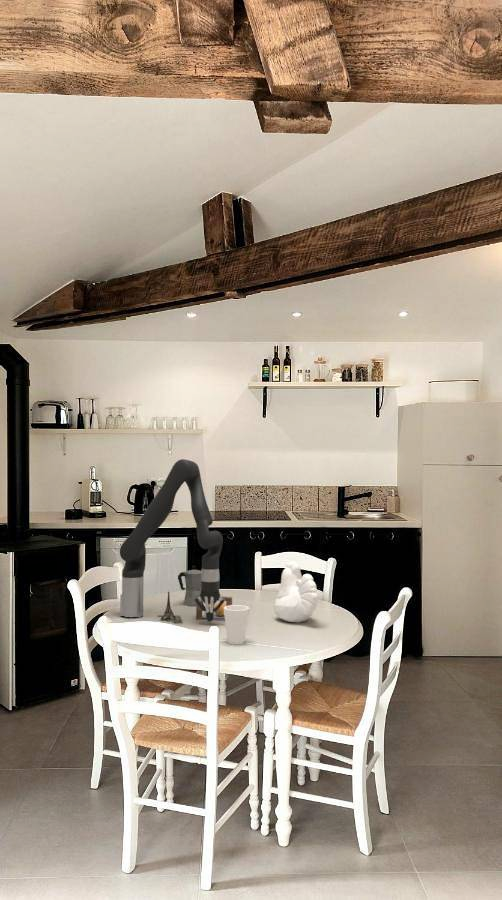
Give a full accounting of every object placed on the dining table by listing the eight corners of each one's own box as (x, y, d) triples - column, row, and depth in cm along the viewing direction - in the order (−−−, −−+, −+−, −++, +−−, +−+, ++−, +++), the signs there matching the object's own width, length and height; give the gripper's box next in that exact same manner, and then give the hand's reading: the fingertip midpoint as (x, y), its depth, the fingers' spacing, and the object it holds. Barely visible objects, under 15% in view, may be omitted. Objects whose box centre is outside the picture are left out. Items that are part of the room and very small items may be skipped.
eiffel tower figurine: (183, 624, 299) (183, 592, 299) (158, 625, 297) (159, 593, 297) (179, 616, 314) (180, 585, 314) (156, 616, 312) (156, 586, 312)
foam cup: (248, 639, 276) (248, 605, 276) (249, 645, 267) (249, 610, 267) (223, 638, 276) (223, 605, 276) (223, 645, 267) (223, 610, 266)
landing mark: (201, 617, 309) (201, 617, 309) (207, 611, 321) (207, 611, 321) (228, 619, 307) (228, 618, 307) (233, 612, 319) (233, 612, 319)
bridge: (230, 621, 304) (231, 598, 304) (196, 619, 306) (196, 597, 306) (232, 619, 307) (232, 596, 307) (197, 618, 309) (197, 595, 309)
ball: (213, 619, 311) (212, 607, 309) (215, 611, 317) (214, 599, 315) (227, 619, 311) (226, 607, 309) (228, 610, 316) (228, 599, 314)
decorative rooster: (269, 616, 313) (270, 559, 313) (303, 614, 317) (304, 558, 317) (288, 630, 289) (289, 569, 289) (325, 628, 293) (325, 567, 293)
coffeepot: (199, 600, 344) (199, 563, 344) (210, 604, 336) (211, 565, 336) (172, 604, 334) (172, 566, 334) (183, 608, 327) (183, 569, 327)
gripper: (192, 580, 294) (192, 622, 294) (224, 581, 292) (223, 624, 293) (196, 577, 302) (196, 618, 302) (227, 578, 300) (227, 619, 300)
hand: (209, 621), depth 297 cm, fingers closed
